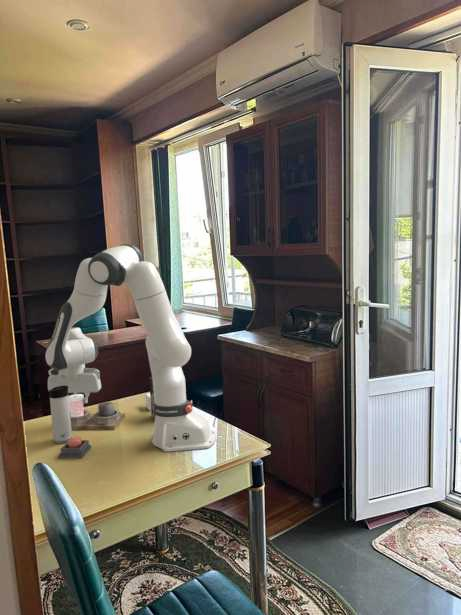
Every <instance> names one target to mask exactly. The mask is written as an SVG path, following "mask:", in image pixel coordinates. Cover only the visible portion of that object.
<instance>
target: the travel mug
mask: <svg viewBox="0 0 461 615" xmlns="http://www.w3.org/2000/svg"><path fill="white" fill-rule="evenodd" d="M48 392H49V404H50V414H51V415H50V416H51V428H52V437H53V443H55V444H57V445H63V444H66V443H67V442H68V440H69V439H70V438H73V434H72V431H73V430H71V419H70V407H69V396H70V395H69V393H68V386H58V387H54V388H53V389H51V390H49V391H48Z"/></svg>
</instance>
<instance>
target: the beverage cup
mask: <svg viewBox="0 0 461 615" xmlns="http://www.w3.org/2000/svg"><path fill="white" fill-rule="evenodd" d="M68 396H69V407H70V413H71V417H79V416H83V415H84V410H83V409H84V403H83V401H82V399H83V398H85V397H84V396H85V394H83V393H73V394H71V395H68Z"/></svg>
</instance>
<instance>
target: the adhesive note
mask: <svg viewBox="0 0 461 615" xmlns="http://www.w3.org/2000/svg"><path fill="white" fill-rule="evenodd" d="M145 401H146V402H145V405H146V408H147V410H149V412H151V399H150V392H148V393H145Z"/></svg>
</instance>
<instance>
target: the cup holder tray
mask: <svg viewBox="0 0 461 615" xmlns="http://www.w3.org/2000/svg"><path fill="white" fill-rule="evenodd" d="M97 408H98V410H97V411H96V412H95V413H91V411H90V410H88V409H86V408H83V410H84V415H83V416H79V417H71V413H70V419H71V430H72V431H97V430H98V431H105V430H106V431H107V430H109V431H114V430H116V429H117V428H118V427H119V425H120V424H121V423H122V421H123V420H124V419H125V418H126V416H125V415H126V413H120V410H117V409H116V408H115V402H112V401H111V402H110V401H106V402H105V401H104V402H102V403H99V404H98V405H97Z"/></svg>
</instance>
